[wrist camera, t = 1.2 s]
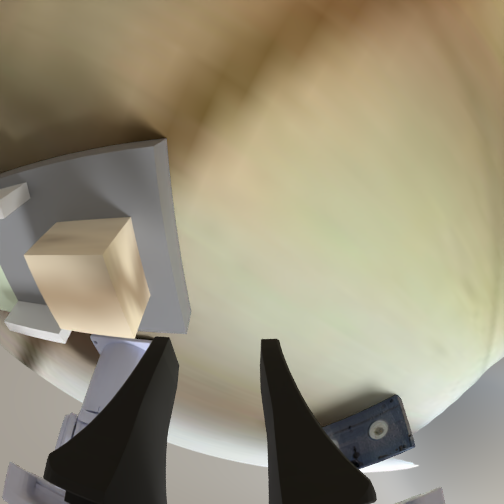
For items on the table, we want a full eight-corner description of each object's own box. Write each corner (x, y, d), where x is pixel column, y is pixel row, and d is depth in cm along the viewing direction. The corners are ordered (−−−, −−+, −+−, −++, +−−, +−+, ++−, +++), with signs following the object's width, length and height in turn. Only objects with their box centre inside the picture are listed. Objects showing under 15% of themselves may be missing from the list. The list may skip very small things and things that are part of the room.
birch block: (150, 295, 18) (134, 338, 15) (82, 291, 18) (60, 328, 15) (130, 216, 15) (102, 254, 11) (56, 222, 15) (23, 255, 11)
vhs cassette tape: (310, 435, 42) (315, 481, 33) (302, 433, 41) (307, 481, 32) (401, 397, 35) (416, 446, 27) (397, 393, 34) (413, 445, 26)
